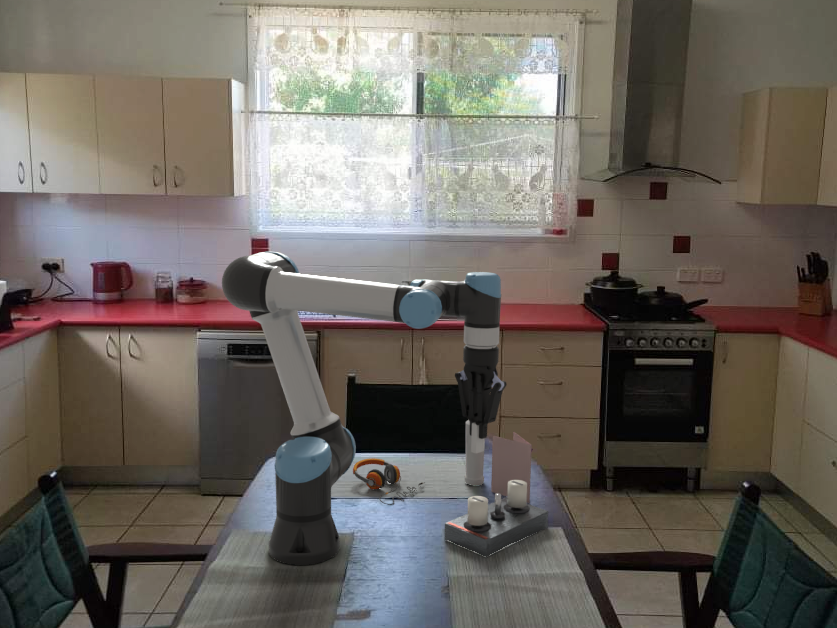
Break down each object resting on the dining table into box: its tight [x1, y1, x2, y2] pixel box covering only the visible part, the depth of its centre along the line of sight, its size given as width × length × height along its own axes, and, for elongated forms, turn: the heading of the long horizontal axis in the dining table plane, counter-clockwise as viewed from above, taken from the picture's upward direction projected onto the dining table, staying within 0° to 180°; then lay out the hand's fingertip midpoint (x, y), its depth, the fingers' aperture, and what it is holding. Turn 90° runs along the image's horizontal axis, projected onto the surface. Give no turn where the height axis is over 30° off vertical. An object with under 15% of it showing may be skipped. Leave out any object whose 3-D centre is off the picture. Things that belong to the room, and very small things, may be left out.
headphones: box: [352, 457, 426, 506], centre depth 210 cm, size 17×5×20 cm
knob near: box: [467, 495, 489, 526], centre depth 177 cm, size 4×4×5 cm
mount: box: [444, 496, 549, 558], centre depth 183 cm, size 12×22×4 cm, turn 135°
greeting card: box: [490, 431, 533, 504], centre depth 205 cm, size 11×7×15 cm, turn 16°
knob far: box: [506, 480, 527, 508], centre depth 187 cm, size 4×4×5 cm
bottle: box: [464, 419, 485, 486], centre depth 212 cm, size 5×5×25 cm
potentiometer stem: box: [490, 493, 505, 520], centre depth 182 cm, size 3×3×5 cm
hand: (477, 451), depth 176 cm, fingers closed
